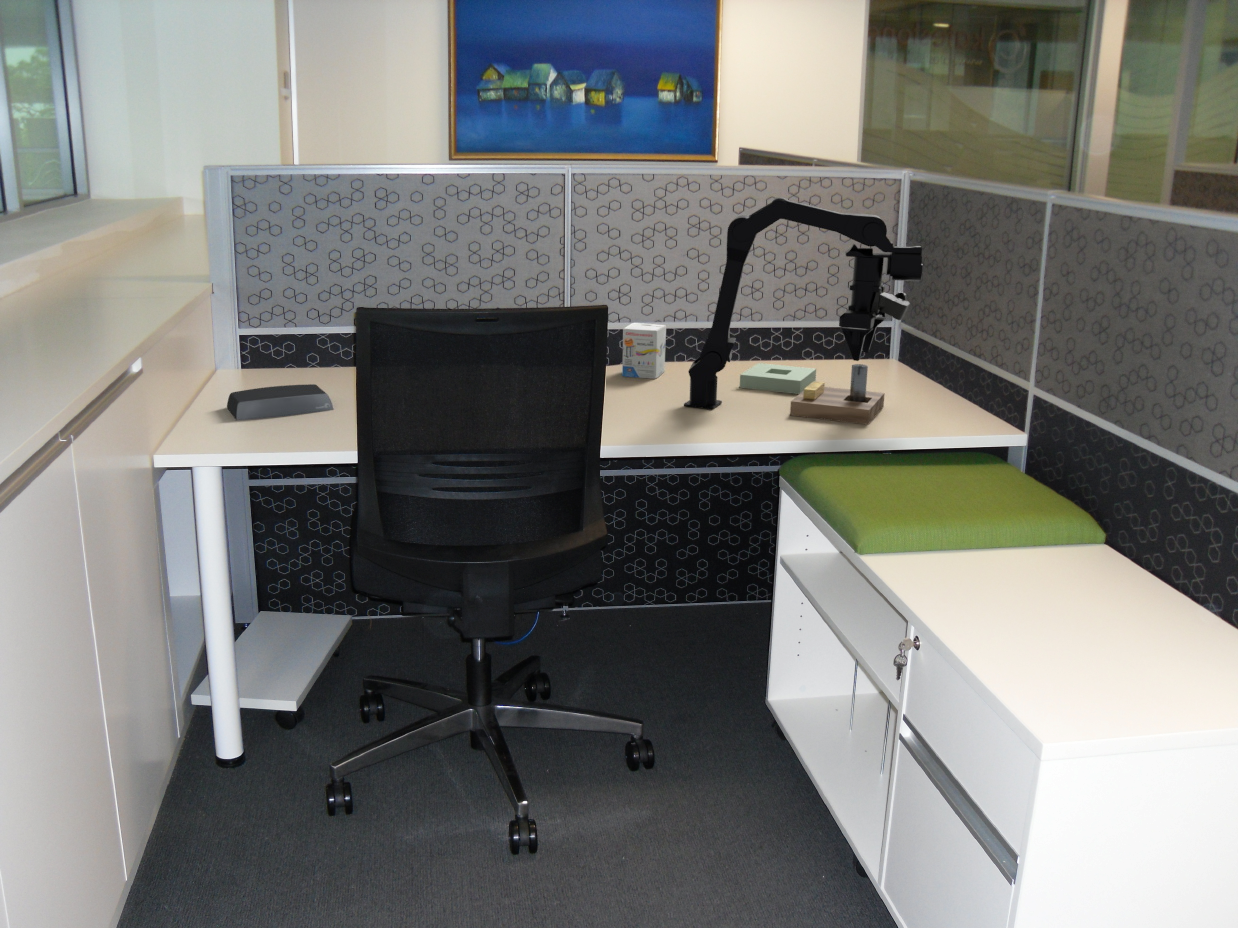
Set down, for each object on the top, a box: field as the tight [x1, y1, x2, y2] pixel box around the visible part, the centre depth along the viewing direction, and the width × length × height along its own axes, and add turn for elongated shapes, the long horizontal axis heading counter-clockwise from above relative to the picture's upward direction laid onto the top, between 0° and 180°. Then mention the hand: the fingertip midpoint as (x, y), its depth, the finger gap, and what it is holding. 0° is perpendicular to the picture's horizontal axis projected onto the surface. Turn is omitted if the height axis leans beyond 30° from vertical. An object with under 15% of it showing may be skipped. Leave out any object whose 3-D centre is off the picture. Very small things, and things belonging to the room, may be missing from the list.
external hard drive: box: [226, 383, 335, 421], centre depth 219 cm, size 13×19×4 cm
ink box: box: [621, 322, 667, 380], centre depth 252 cm, size 9×8×12 cm
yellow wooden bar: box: [803, 380, 826, 400], centre depth 222 cm, size 8×2×2 cm, turn 156°
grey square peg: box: [849, 363, 869, 403], centre depth 219 cm, size 3×3×10 cm
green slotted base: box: [739, 362, 817, 395], centre depth 244 cm, size 14×14×3 cm
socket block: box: [789, 386, 886, 425], centre depth 221 cm, size 16×16×3 cm
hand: (861, 356), depth 217 cm, fingers open, 9 cm apart
